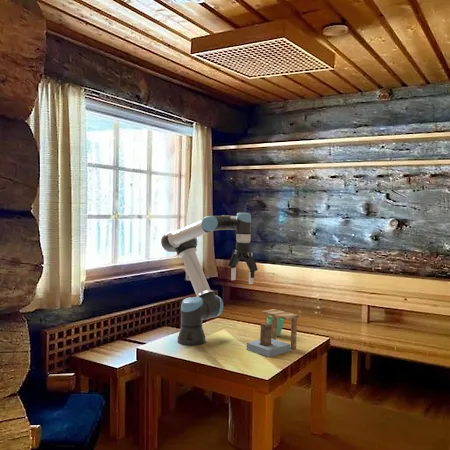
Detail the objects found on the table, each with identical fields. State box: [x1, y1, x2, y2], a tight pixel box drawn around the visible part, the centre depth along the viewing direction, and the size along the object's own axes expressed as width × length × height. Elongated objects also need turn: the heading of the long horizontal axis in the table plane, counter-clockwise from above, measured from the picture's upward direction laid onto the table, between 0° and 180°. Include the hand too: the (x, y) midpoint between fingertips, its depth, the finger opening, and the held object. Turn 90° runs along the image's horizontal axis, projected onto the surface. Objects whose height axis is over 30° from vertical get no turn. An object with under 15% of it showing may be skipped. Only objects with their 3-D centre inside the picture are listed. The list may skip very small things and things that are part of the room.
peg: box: [259, 322, 272, 346], centre depth 255 cm, size 4×4×14 cm
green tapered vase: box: [266, 315, 285, 337], centre depth 287 cm, size 15×10×10 cm
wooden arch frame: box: [261, 308, 300, 351], centre depth 262 cm, size 18×9×18 cm, turn 41°
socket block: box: [246, 338, 291, 358], centre depth 257 cm, size 16×16×4 cm
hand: (242, 281), depth 262 cm, fingers open, 13 cm apart
